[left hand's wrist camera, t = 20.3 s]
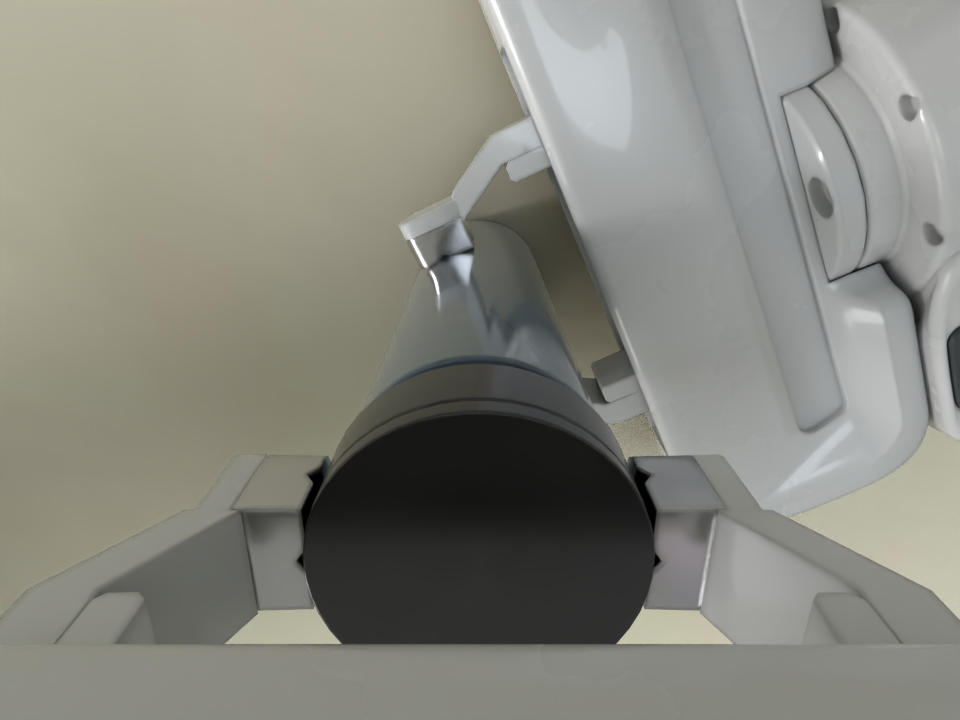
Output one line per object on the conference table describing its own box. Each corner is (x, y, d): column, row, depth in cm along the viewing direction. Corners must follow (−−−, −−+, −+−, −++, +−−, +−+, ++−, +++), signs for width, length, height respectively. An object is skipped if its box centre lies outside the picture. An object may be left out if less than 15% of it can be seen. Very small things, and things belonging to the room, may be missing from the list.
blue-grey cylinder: (457, 196, 23) (417, 335, 8) (560, 258, 24) (691, 485, 9) (400, 298, 24) (278, 573, 10) (499, 353, 25) (526, 683, 10)
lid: (396, 643, 11) (383, 729, 10) (278, 417, 10) (238, 476, 8) (658, 573, 11) (689, 652, 9) (582, 318, 9) (604, 361, 7)
